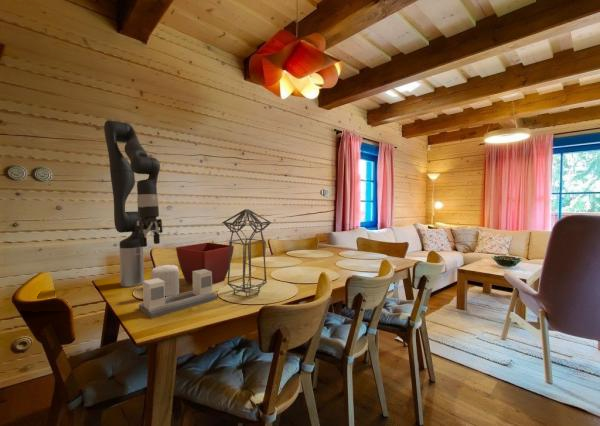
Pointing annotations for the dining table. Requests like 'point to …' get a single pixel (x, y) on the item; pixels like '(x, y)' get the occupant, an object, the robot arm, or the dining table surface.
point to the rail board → (178, 303)
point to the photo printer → (168, 278)
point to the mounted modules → (156, 288)
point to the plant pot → (204, 260)
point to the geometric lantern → (241, 215)
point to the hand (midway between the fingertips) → (150, 245)
